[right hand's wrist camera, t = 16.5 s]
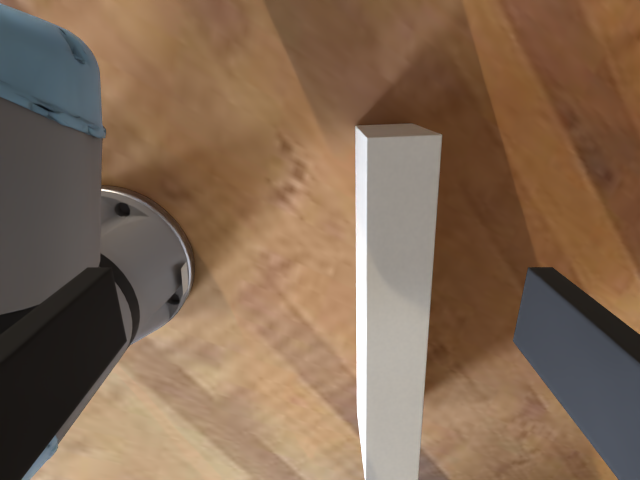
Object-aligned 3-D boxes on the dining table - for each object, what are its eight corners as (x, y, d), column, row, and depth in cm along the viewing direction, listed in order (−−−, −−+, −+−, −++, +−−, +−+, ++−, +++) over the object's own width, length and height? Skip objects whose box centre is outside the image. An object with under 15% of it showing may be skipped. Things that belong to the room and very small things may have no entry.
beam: (400, 410, 46) (418, 482, 38) (357, 411, 46) (365, 483, 38) (412, 123, 35) (442, 134, 26) (355, 125, 35) (366, 137, 26)
